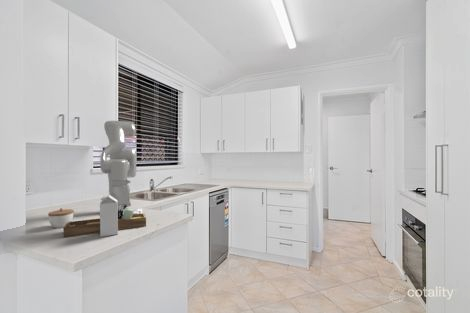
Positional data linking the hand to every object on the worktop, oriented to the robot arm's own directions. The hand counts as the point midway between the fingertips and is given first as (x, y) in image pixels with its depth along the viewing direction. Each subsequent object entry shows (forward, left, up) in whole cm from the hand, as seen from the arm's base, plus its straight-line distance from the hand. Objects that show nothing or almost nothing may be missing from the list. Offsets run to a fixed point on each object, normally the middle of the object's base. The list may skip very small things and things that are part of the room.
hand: (119, 218), depth 119 cm
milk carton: (+11, -4, -4) cm, 13 cm away
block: (+1, +3, 0) cm, 3 cm away
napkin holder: (-10, +9, -5) cm, 14 cm away
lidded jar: (-15, -28, -4) cm, 32 cm away
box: (+2, -5, -4) cm, 7 cm away
